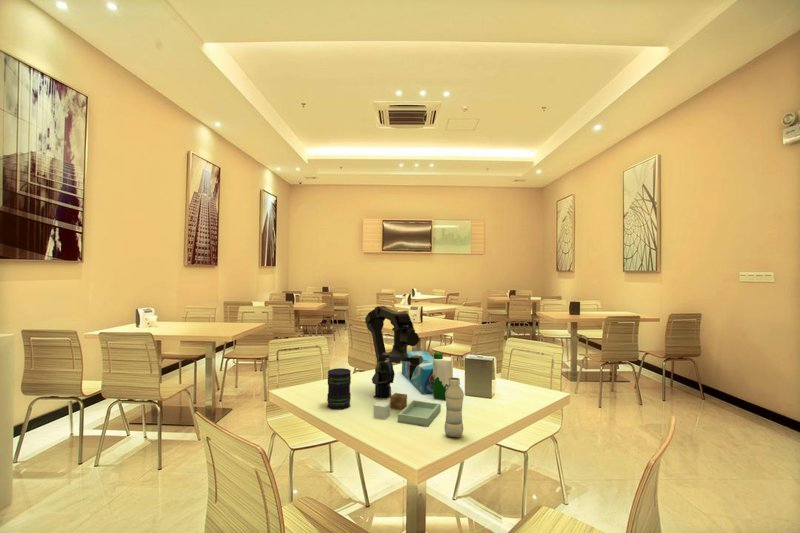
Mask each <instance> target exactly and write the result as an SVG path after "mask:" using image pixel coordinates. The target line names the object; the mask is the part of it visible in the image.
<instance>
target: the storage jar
mask: <svg viewBox="0 0 800 533" xmlns="http://www.w3.org/2000/svg"><path fill="white" fill-rule="evenodd" d="M351 378H352V376H351V370H350V369H348V368H344V367H343V368H331V369H329V370H328V371H327V386H328V387H327V389H328V391H327V392H328V393H327V397H326V398H327V399H326V400H327V408H328V409H329V410H334V411H341V410H346V409H349V408H350V407H351V397H352V396H351V384H352V379H351Z"/></svg>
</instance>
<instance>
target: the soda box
mask: <svg viewBox="0 0 800 533" xmlns="http://www.w3.org/2000/svg"><path fill="white" fill-rule="evenodd" d="M407 353H408V356H407V357H412V356H414V355H416V356H422V358H423V363H421V364H420V365H418V366H417V367H416V368H415V370H414V373H413V376H412V378H411V380H409V374H410V366H409V365H410V364H411V363H410V362H407V361H401V374H402V375H404V377H405V378H406V380H408V381H409V382H410V383H411V385H413V387H415V389H416V390H417V391H419V393H420V394H421V395H434V393H433V360H434V356H432V354H429V352H426V351H425V350H411V351H407Z"/></svg>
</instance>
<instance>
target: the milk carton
mask: <svg viewBox="0 0 800 533" xmlns="http://www.w3.org/2000/svg"><path fill="white" fill-rule="evenodd" d="M433 357H434V360H433V393H434V394H433V400H440V401H441V400H444V401H446V398H445V392H446V390H447V388H448V387H449V386H450V384H449V378H454V377H453V373H454V372H453V370H454V366H453V357H451V356H444V355H443V353H442V352H435V353H433Z"/></svg>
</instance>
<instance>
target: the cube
mask: <svg viewBox="0 0 800 533" xmlns="http://www.w3.org/2000/svg"><path fill="white" fill-rule="evenodd" d="M390 416H391V408H390V402H387V401H386V402H385V401H377V402H376V403H375V404H374V405H373V418H374V419H378V420H386V419H387V418H389V417H390Z"/></svg>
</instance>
